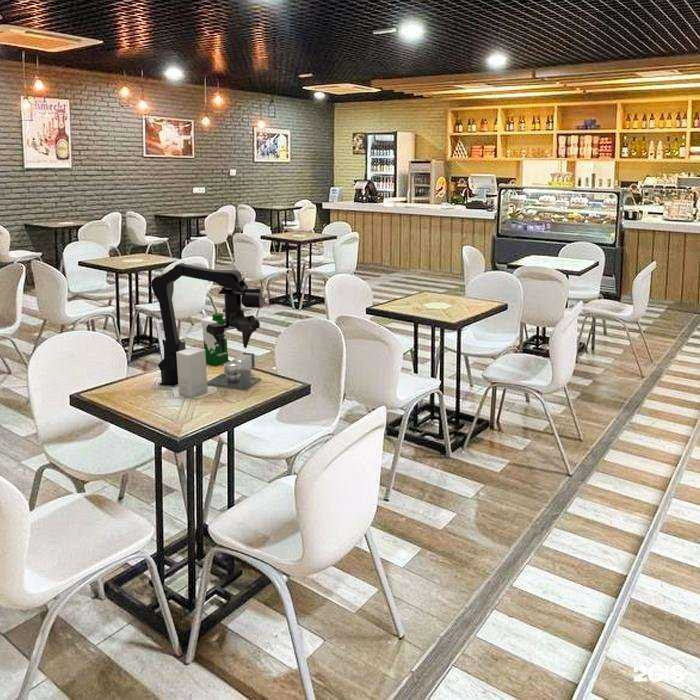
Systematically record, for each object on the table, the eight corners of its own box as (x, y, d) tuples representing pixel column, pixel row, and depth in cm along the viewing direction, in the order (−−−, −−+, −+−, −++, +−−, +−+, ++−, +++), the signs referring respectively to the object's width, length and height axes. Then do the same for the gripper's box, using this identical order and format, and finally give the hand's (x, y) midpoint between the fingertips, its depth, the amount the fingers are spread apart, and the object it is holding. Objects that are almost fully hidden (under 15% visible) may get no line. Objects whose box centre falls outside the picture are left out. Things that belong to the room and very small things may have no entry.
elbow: (236, 379, 259) (236, 365, 258) (221, 377, 261) (220, 363, 260) (257, 367, 274) (256, 353, 273) (241, 365, 276) (241, 352, 275)
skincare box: (195, 388, 258) (193, 346, 254) (209, 392, 254) (206, 349, 250) (177, 394, 251) (175, 351, 247) (191, 398, 247) (188, 354, 243)
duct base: (205, 385, 261) (204, 368, 259) (222, 376, 272) (221, 359, 270) (246, 390, 256) (245, 372, 254) (261, 380, 267) (260, 363, 265)
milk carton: (216, 367, 283) (213, 317, 278) (200, 363, 288) (197, 314, 283) (232, 362, 290) (230, 313, 285) (216, 358, 295) (213, 310, 290)
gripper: (221, 314, 241) (223, 359, 245) (268, 307, 253) (268, 350, 257) (204, 308, 249) (206, 352, 253) (250, 302, 261) (251, 344, 265)
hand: (234, 349), depth 257 cm, fingers open, 9 cm apart
